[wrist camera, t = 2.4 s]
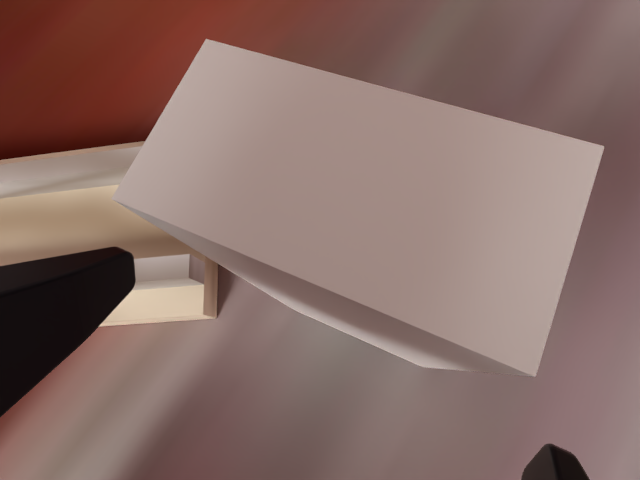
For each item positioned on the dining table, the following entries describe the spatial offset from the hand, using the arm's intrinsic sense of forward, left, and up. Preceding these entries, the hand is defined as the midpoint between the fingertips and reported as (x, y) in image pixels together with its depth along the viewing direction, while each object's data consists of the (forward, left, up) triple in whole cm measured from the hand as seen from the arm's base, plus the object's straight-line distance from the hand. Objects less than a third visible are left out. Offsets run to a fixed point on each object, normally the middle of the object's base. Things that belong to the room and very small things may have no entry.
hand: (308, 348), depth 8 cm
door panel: (+2, +1, -10) cm, 10 cm away
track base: (-6, +14, -10) cm, 18 cm away
